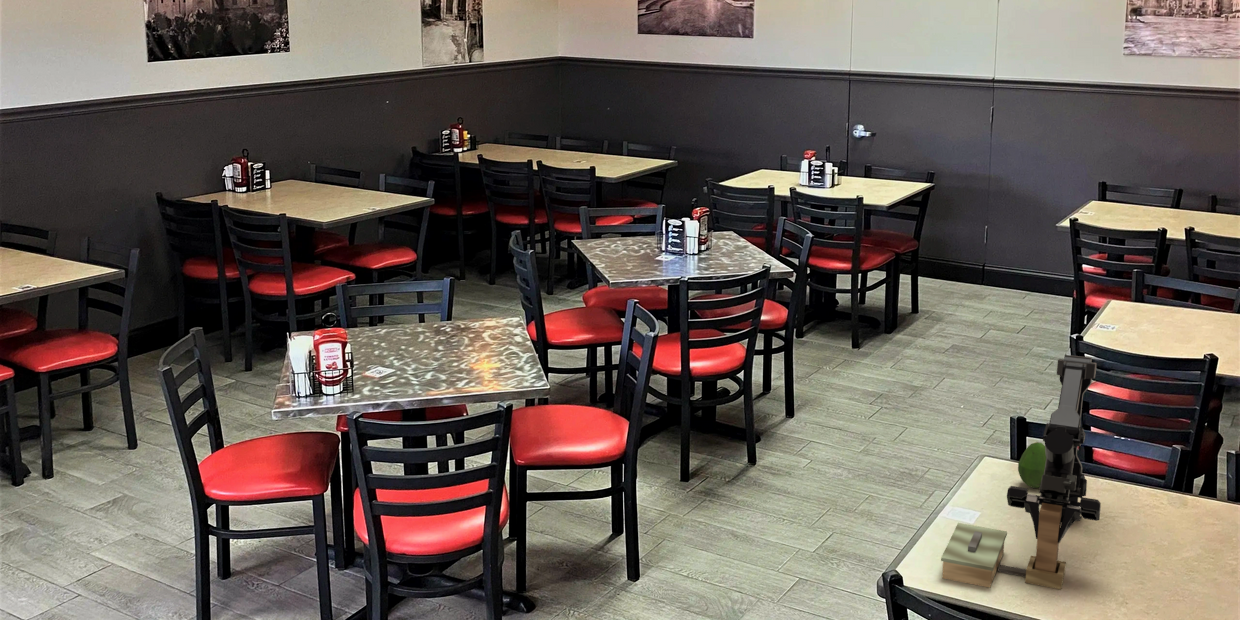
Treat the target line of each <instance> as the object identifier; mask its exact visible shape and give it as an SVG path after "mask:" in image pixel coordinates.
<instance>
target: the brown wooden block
mask: <svg viewBox="0 0 1240 620" xmlns="http://www.w3.org/2000/svg"><path fill="white" fill-rule="evenodd" d="M1039 512H1040V513H1039V526H1038V538H1037V539H1036V550H1035V551H1036V552H1035V556H1036V563H1035V569H1036V570H1041V571H1046V572H1052V573H1055V571H1056V567H1057V560H1058V556H1059V547H1060V546H1059V544H1060V543H1058V535H1059V531H1060V527H1061V524H1062V522H1061V513H1062V506H1059V505H1053V504H1047V503H1042V505H1040V507H1039Z"/></svg>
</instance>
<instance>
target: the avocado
mask: <svg viewBox="0 0 1240 620" xmlns="http://www.w3.org/2000/svg"><path fill="white" fill-rule="evenodd" d="M1045 463H1046V454H1045V444H1044V443H1042V442H1039V441H1036V442H1032V443H1030V444H1029V445H1028V446H1027V447H1026V449H1025V450H1024V452H1023V453H1022V454H1021V456H1020V459H1019V460H1018V463H1017V466H1018V467H1017V472H1018V475H1019V477H1020V479H1021V480H1022V482H1023V483H1024V484H1025V485H1026V486H1028V487H1029V488H1032V489H1040V483H1041V480H1042V475H1044V469H1045Z"/></svg>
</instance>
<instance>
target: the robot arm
mask: <svg viewBox="0 0 1240 620" xmlns="http://www.w3.org/2000/svg"><path fill="white" fill-rule="evenodd" d="M1092 359H1093V358H1092V357H1089V356H1080V355H1079V356H1078V355H1070V354H1064V358H1059V359H1057V366H1056V375H1057V376H1059V382H1060V384H1061V390H1060V394H1059V400H1058V407H1057V409H1056V410H1054V411H1053V412H1052V413H1051V414H1050V417H1049V418H1050V419H1049V422H1048V423H1047V422H1046V424H1045V427H1044V430H1043V436H1042V442H1044V446H1045V454H1046V463H1045V469H1044V475H1042V480H1041V483H1040V488H1039V490H1038V492H1039V494H1040V495H1037V494H1032V493H1029V491H1028V490H1029V489H1028V488H1026V487H1022V486H1021V487H1020V486H1013V485H1010V486H1009V487H1008V488H1007V493H1006V499H1007V505H1008V506H1009V507H1012V508H1018V509H1024V511H1025V513H1028V514H1030V517H1031V520H1032V524H1033V527H1034V529H1033V530H1034V534H1035V539H1036V540H1037V538H1038V526H1039V513H1040V506H1041V505H1042V503H1047V504H1053V505H1059V506H1062V513H1061V524H1060V531H1059V535H1058V543H1059V544H1060V543H1061V542H1062V540H1063V538H1064V536H1065V535H1066V533H1067V532H1068V530H1069V529H1070V528H1071V526H1073V524H1074V523H1075V522H1080V521H1081V520H1082V519H1083V520H1090V521H1095V522H1096V521H1097V522H1098V521H1100V518H1101V511H1102V510H1101V507H1102V505H1101V502H1100V500H1099V499H1096V498H1089V497H1086V496H1087V487H1088V480H1087V478H1086V476H1085V473H1083V465H1082V463H1081V460H1080V459H1079V457H1078V447H1081V445H1083V444H1084V443H1085V439H1086V432H1085V430H1084V427H1081V422H1082V421H1081V418H1082V411H1083V409H1082V408H1083V399H1084V394H1085V393H1086V392H1087V390H1088V389H1089V387H1091V385H1092V382H1093V380H1094V379H1096V375H1097V373H1096V372H1097V362H1092V361H1093V360H1092ZM1079 499H1080V501H1079Z"/></svg>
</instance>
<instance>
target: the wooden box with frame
mask: <svg viewBox="0 0 1240 620" xmlns="http://www.w3.org/2000/svg"><path fill="white" fill-rule="evenodd" d="M1007 535H1008V531H1007V530H1001V529H997V528H990V527H986V526H978V525H974V524H970V523H969V524H968V523H962V522H958V523H957V525H956V526H955V529H954V530H953V533H952V535H951V537H950V539H949V541H948V543H947V545H946V547H945V548H944V551H943V553H942V555H941V557H940V562H942V576H941V578H942V579H945V580H949V581H955V582H959V583H965V584H971V585H975V586H980V587H983V588H984V587H985V588H991V586H992V584H993V581H994V578H995V575H996V573H997V572H999V573H1004V574H1009V575H1015V576H1019V577H1024V578H1025V582H1024V583H1026V584H1030V585H1035V586H1036V585H1037V586H1042V587H1045V588H1046V587H1047V588H1051V589H1056V590H1062V587H1063V582H1064V579H1065V575H1066V565H1067V562H1066V561H1064V560H1058V559H1057V567H1056V571H1055V573H1052V572H1046V571H1041V570H1036V569H1035V563H1036V555H1030V557H1029V560H1028V563H1027V567H1026V568H1021V567H1015V566H1011V565H1005V564H1000V563H1001V560H1002V557H1003V555H1004V551H1005V541H1006V538H1007Z"/></svg>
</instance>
